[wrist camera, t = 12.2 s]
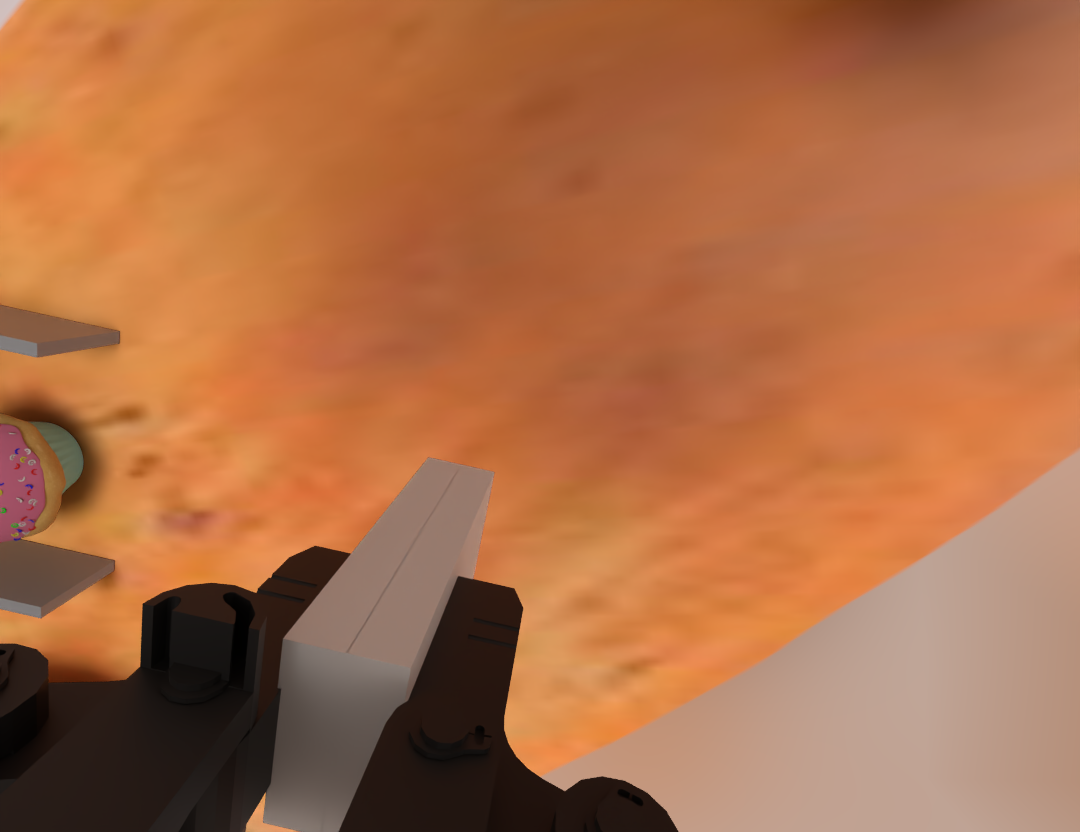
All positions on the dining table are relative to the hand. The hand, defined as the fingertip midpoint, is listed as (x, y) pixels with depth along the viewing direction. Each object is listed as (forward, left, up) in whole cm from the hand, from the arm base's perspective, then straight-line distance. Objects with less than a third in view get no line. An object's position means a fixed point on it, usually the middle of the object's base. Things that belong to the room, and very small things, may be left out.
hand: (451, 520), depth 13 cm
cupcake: (+14, -31, -25) cm, 42 cm away
